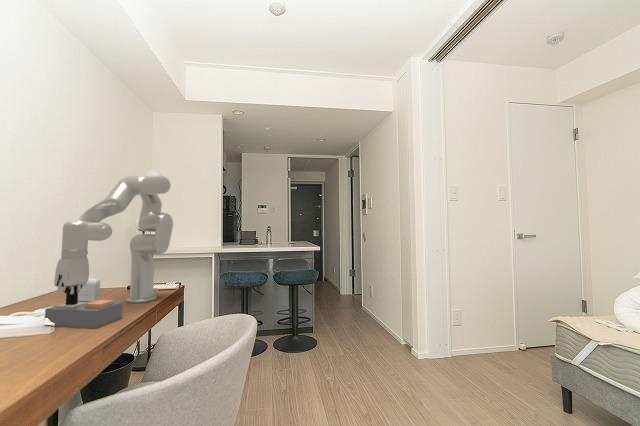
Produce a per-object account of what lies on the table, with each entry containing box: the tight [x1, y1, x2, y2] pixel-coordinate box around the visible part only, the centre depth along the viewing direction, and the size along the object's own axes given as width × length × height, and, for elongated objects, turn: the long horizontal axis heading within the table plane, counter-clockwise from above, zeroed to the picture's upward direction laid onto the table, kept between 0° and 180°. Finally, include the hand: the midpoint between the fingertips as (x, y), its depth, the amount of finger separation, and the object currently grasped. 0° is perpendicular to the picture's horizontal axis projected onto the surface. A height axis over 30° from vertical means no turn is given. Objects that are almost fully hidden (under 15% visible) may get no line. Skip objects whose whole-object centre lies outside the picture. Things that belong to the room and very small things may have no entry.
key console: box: [44, 301, 123, 329], centre depth 110 cm, size 12×20×6 cm, turn 85°
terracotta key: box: [85, 299, 114, 309], centre depth 110 cm, size 6×6×4 cm
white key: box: [56, 302, 87, 308], centre depth 111 cm, size 6×6×4 cm
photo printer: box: [78, 277, 101, 301], centre depth 131 cm, size 10×4×12 cm, turn 98°
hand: (71, 304), depth 110 cm, fingers closed
